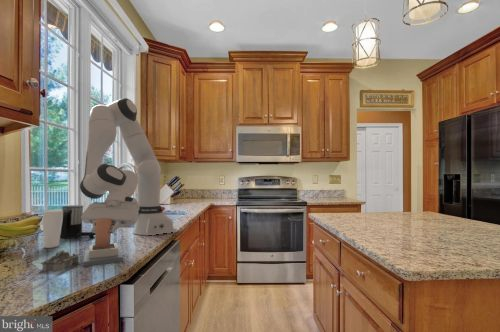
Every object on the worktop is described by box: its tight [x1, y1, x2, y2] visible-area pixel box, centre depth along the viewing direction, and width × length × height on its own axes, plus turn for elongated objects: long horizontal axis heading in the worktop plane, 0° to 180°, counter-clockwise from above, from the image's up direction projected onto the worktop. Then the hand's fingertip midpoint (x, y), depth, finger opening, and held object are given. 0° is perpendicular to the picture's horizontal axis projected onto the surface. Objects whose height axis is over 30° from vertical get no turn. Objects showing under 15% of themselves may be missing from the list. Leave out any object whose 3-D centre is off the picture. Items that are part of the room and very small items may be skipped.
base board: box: [82, 242, 124, 267], centre depth 99 cm, size 12×16×4 cm
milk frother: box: [60, 204, 96, 239], centre depth 130 cm, size 14×16×15 cm
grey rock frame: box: [40, 249, 81, 272], centre depth 89 cm, size 11×8×4 cm
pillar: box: [94, 218, 112, 248], centre depth 99 cm, size 5×5×10 cm
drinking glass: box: [42, 209, 63, 249], centre depth 112 cm, size 7×7×15 cm
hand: (102, 232), depth 99 cm, fingers closed on pillar, 5 cm apart
